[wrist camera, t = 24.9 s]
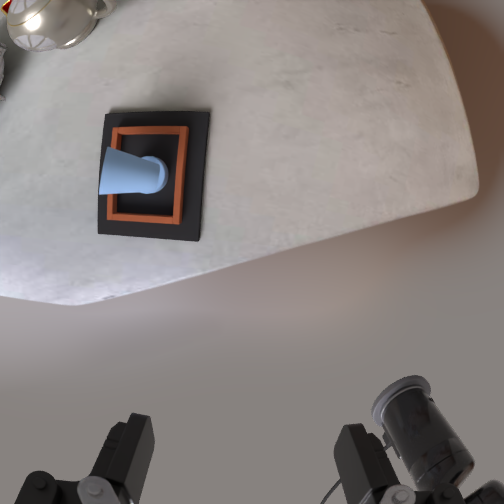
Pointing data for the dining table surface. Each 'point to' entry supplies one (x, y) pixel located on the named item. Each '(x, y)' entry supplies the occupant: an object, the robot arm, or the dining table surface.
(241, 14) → the dining table surface
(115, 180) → the spotlight
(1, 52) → the bowl
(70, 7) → the teapot
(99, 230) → the pad
